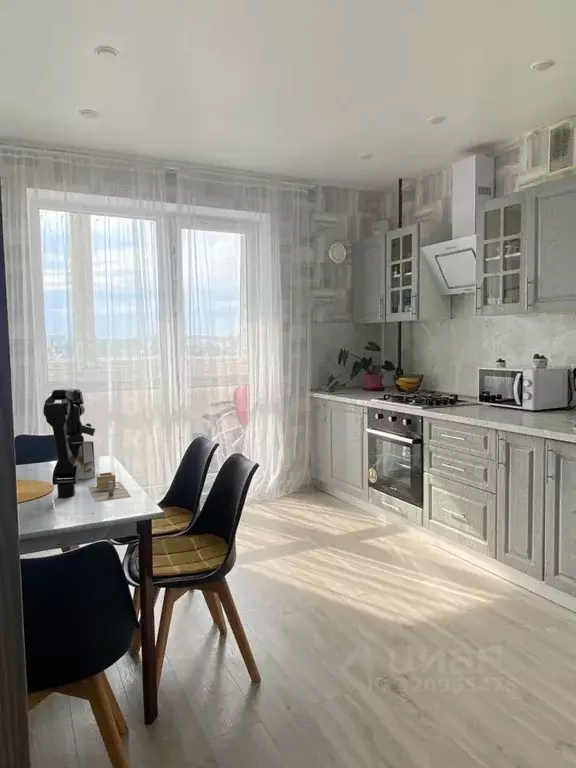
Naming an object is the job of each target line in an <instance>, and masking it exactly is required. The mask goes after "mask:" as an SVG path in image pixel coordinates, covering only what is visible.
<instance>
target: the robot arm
mask: <svg viewBox="0 0 576 768" xmlns="http://www.w3.org/2000/svg"><path fill="white" fill-rule="evenodd" d="M83 397H84V396H83V393H82V391H81V389H79V388H63V389H54V390H52V392H51V395H50V396H48V397H47V399H46V400H45V401H44V405H43V408H42V409H43V411H42V412H43V417H45V420H46V421H45V422H46V423H48V425H49V426H51V428H52V432H53V438H54V445H55V450H56V456H57V461H56V463H55V466H54V469H53V471H52V477H51V478H52V479H51V481H52V486H55V485H57V499H68V498H72V497H74V496H75V495H76V486H75V484H77V483H78V482H79V479H78V477H79V468H78V466H77V464H76V459H77V457H78V451H79V446H80V445H81V444H83V442H84V441H85V440H84V439H85V437H84V436H83V434H84V435H89V436H91V437H93V436H94V435H95V431H96V427H93V426H92V424H91V423H88V422H87V423H86V424H82V422H81V416H83V415H84V414H85V406H84V403H85V402H84V401H85V400H84V398H83ZM56 401H61V402H56ZM70 451H71V453H72V455H73V456H71V455H70Z"/></svg>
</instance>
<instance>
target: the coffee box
mask: <svg viewBox="0 0 576 768" xmlns="http://www.w3.org/2000/svg"><path fill="white" fill-rule="evenodd" d="M70 455H71V456H73V455H72V453H71V451H70ZM76 464H77V466H78V468H79V477H78V480H84V481H85V480H89V479H92V478H95V477H96V466H95V465H96V464H95V448H94V441H92V440H91V441H88V440H84V442H83V444H81V445H80V446H79V451H78V457H77V459H76Z"/></svg>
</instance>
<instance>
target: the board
mask: <svg viewBox="0 0 576 768" xmlns="http://www.w3.org/2000/svg"><path fill="white" fill-rule="evenodd" d="M115 483H116V487H114V488H113V481H108V488H106V489H98V487H97V484H90V485H89V484H88V485H87V488H88V489H89V492H90V494H91V496H92V498H93V500H94V503H98V502H107V501H113V500H120V499H121V500H122V499H128V498H129V499H130V498H132V496H131V494H130V493H129V491H128V490H127V488H126V487H125V486H124V485H123V484H122V483H121V481H115Z"/></svg>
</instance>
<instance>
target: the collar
mask: <svg viewBox="0 0 576 768" xmlns="http://www.w3.org/2000/svg"><path fill="white" fill-rule="evenodd" d="M95 477H96V485H97V487H98V489H106V488H108V481H113V488H114V487H116V483H115V482H116V475H115V473H114V471H109V472H99V473H95Z"/></svg>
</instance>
